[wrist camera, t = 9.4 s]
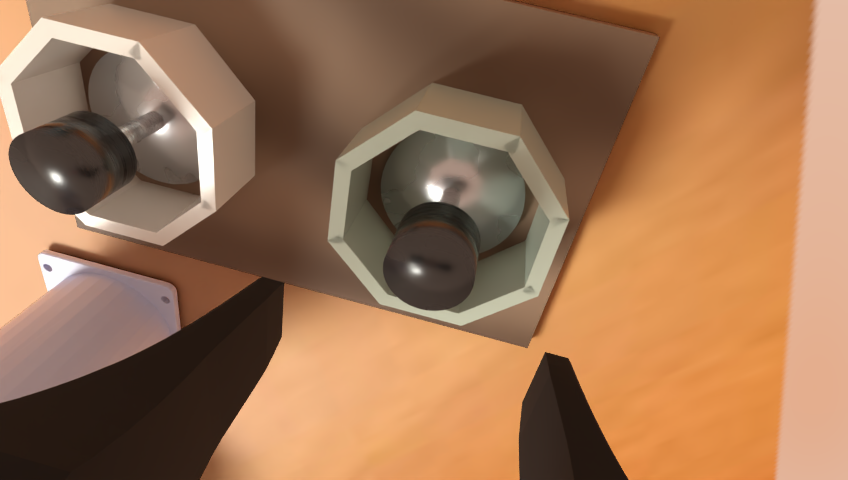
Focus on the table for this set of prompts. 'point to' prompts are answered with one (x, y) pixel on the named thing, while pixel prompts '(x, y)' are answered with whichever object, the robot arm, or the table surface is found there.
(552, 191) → the housing
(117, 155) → the plunger
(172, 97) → the housing
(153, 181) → the board
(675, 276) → the table surface
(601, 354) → the table surface
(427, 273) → the plunger
